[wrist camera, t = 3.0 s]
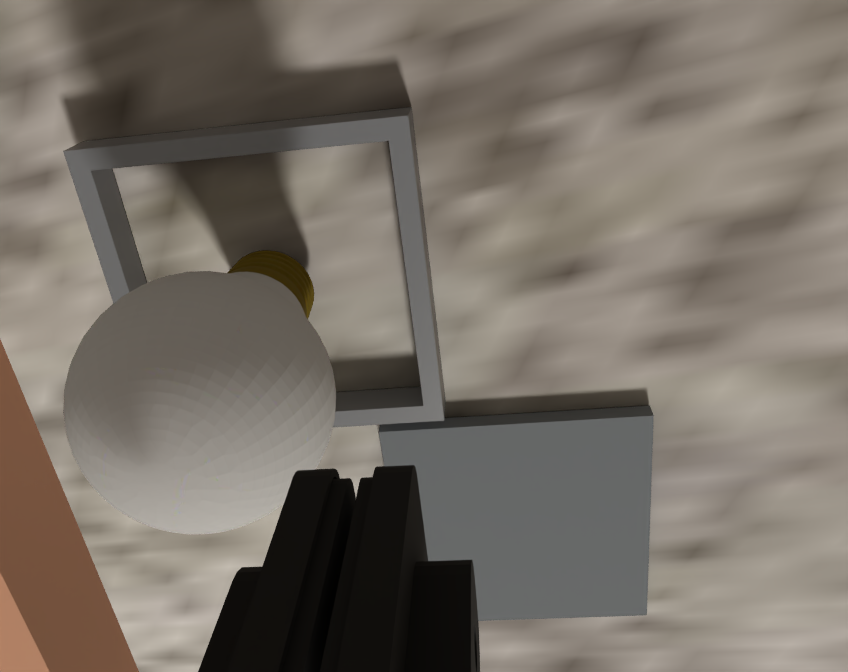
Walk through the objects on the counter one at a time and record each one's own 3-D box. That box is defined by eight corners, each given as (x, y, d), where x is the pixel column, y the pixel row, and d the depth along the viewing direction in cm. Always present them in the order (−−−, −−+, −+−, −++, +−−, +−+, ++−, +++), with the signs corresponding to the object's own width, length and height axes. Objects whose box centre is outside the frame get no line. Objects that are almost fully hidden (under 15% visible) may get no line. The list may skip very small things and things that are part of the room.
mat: (649, 405, 25) (653, 415, 24) (643, 602, 29) (646, 615, 28) (380, 422, 25) (378, 432, 25) (411, 610, 30) (410, 622, 29)
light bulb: (370, 191, 22) (300, 357, 13) (372, 366, 24) (315, 602, 16) (172, 183, 22) (-31, 341, 13) (195, 357, 25) (41, 585, 16)
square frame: (411, 107, 21) (408, 115, 20) (445, 400, 25) (444, 420, 24) (83, 141, 22) (63, 151, 21) (170, 418, 26) (158, 438, 25)
